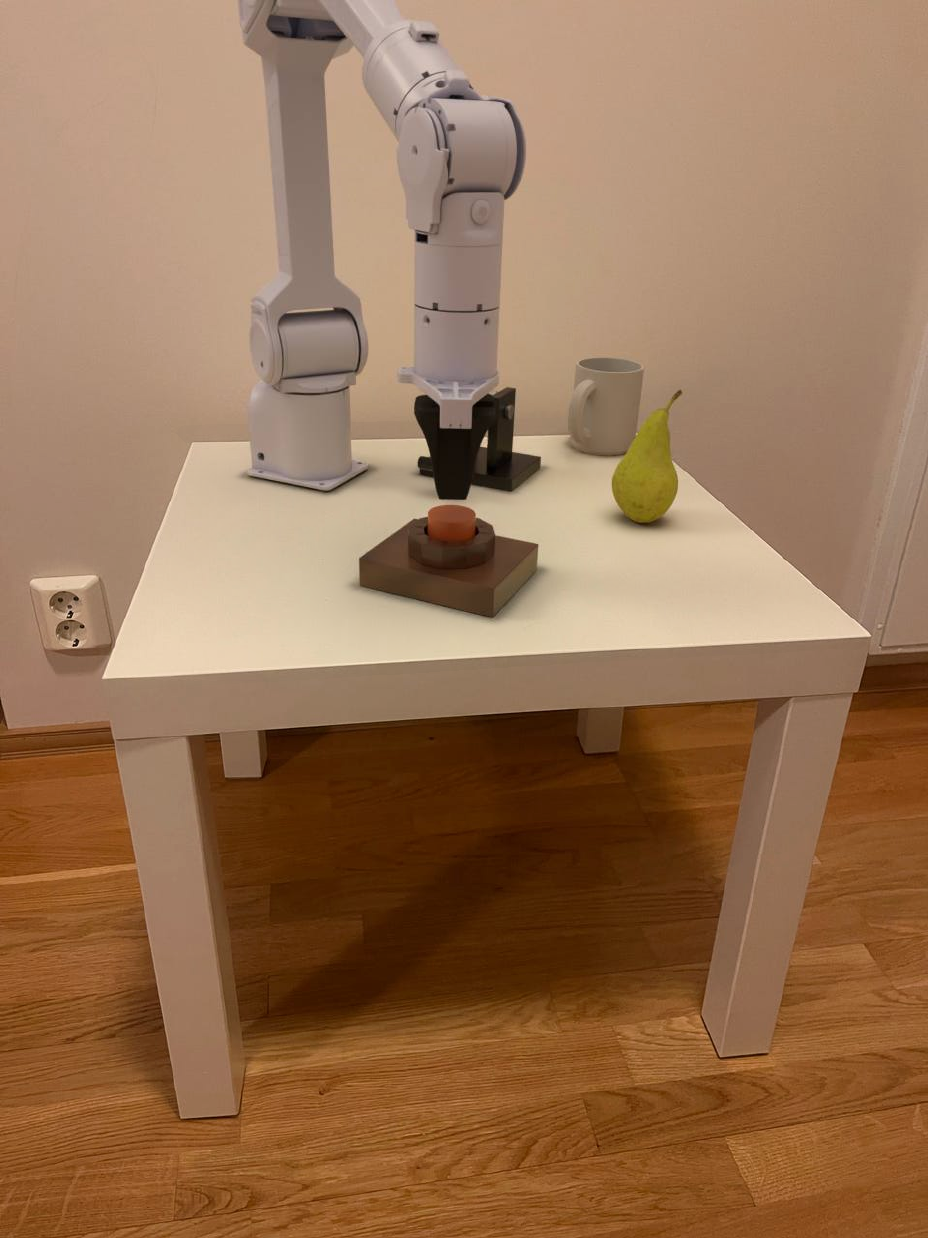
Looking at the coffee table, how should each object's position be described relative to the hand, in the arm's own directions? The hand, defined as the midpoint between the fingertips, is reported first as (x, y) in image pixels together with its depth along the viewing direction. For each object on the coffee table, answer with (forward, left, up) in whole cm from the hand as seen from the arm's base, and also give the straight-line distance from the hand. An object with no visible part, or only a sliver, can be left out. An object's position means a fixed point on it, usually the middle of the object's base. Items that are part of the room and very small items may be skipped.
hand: (452, 496), depth 67 cm
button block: (0, 0, -7) cm, 7 cm away
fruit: (+10, +19, -7) cm, 23 cm away
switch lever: (-8, +21, -3) cm, 22 cm away
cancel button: (0, 0, -3) cm, 3 cm away
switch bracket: (-8, +24, -7) cm, 26 cm away
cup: (0, +37, -7) cm, 38 cm away
